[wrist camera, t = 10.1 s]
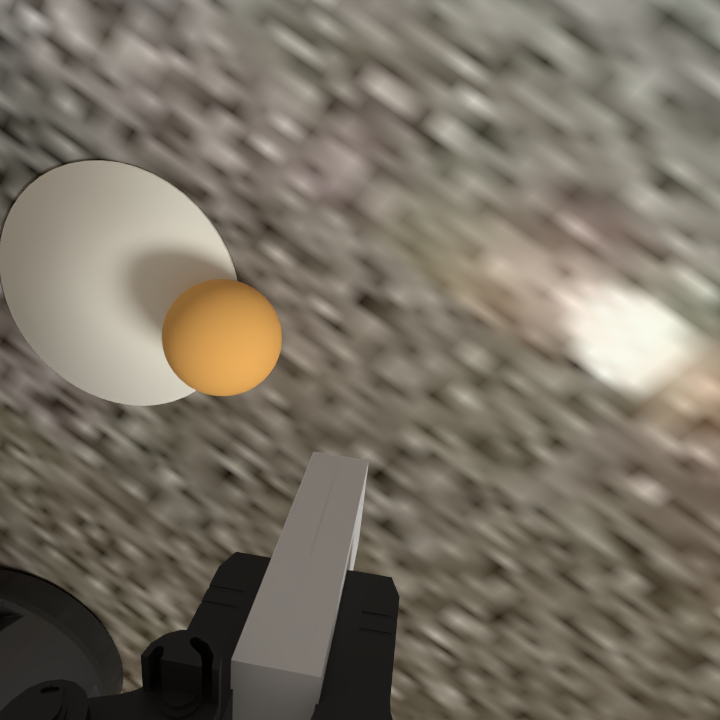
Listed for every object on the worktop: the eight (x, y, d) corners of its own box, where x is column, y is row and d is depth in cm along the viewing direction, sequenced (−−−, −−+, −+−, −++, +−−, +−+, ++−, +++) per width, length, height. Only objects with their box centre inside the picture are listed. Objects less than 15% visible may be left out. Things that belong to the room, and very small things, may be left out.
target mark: (118, 441, 34) (117, 443, 34) (-46, 257, 31) (-49, 258, 30) (290, 327, 30) (289, 328, 29) (120, 101, 27) (117, 101, 26)
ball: (250, 435, 27) (237, 377, 32) (315, 341, 26) (291, 295, 30) (138, 390, 24) (140, 334, 29) (204, 283, 23) (196, 242, 28)
